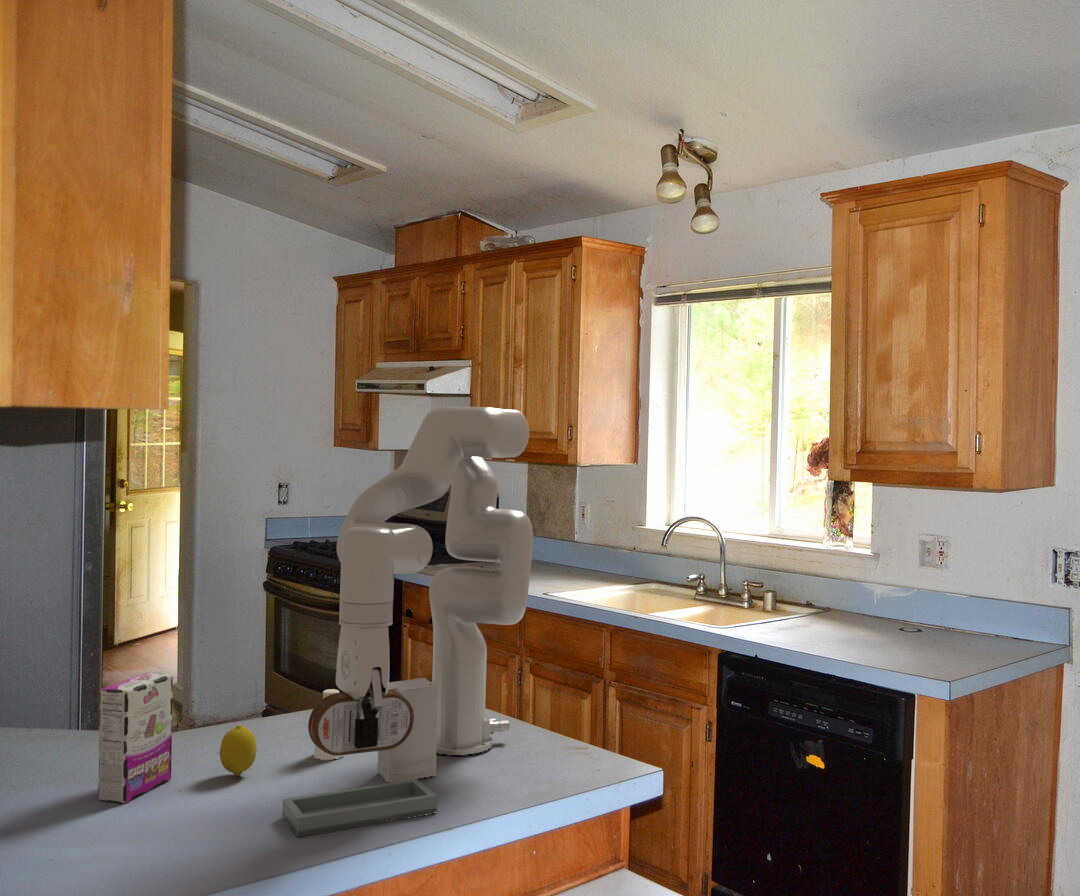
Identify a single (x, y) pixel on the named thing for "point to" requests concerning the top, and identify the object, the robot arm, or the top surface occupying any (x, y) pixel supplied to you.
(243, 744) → the lemon
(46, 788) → the top surface
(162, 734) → the candy bar box
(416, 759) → the skincare box
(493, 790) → the top surface
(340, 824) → the tray
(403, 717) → the tin
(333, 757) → the pepper shaker
